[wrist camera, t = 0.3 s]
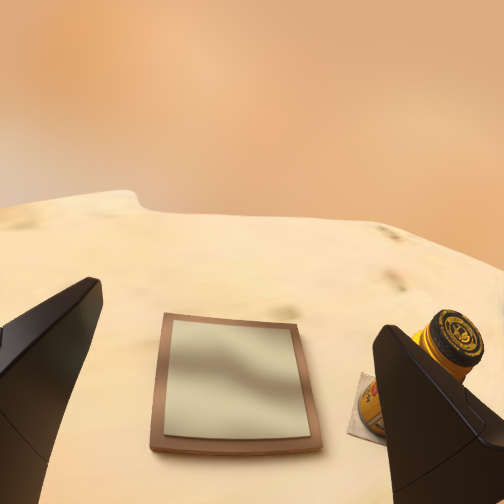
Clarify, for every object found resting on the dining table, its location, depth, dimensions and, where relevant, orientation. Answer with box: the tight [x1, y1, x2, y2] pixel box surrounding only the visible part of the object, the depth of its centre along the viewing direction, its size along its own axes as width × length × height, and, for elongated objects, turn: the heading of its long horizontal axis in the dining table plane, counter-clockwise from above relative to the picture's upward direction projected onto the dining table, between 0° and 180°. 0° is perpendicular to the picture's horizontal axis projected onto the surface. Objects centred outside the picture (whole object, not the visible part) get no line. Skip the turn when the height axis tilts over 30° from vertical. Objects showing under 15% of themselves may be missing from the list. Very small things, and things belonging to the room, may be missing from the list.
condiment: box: [347, 310, 484, 445], centre depth 21 cm, size 7×8×12 cm
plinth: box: [149, 313, 323, 455], centre depth 24 cm, size 13×13×2 cm
